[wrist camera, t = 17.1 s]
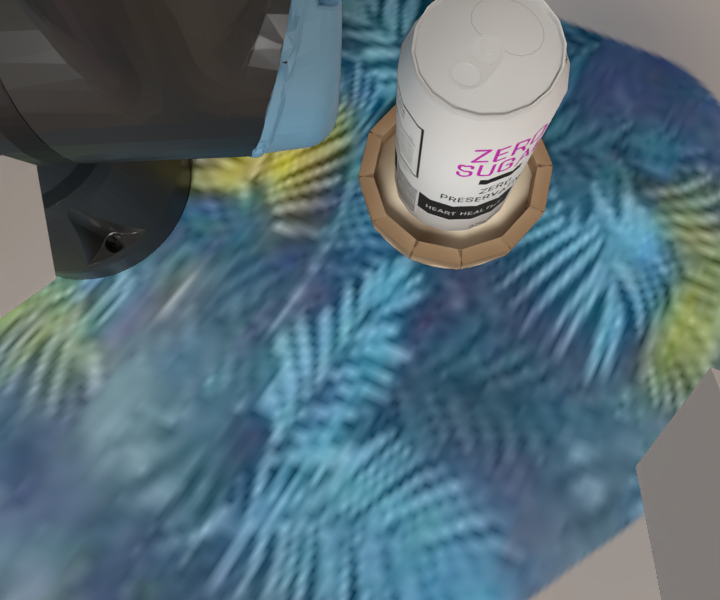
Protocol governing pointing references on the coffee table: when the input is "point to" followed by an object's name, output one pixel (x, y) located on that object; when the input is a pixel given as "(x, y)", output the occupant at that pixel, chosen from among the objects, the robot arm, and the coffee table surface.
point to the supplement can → (474, 105)
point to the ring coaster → (439, 244)
